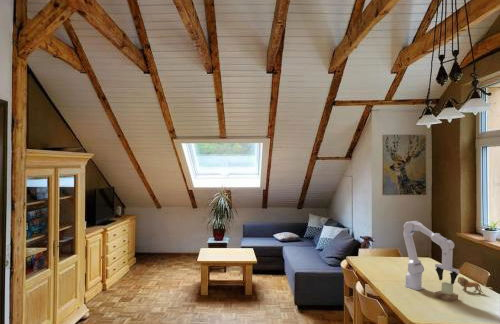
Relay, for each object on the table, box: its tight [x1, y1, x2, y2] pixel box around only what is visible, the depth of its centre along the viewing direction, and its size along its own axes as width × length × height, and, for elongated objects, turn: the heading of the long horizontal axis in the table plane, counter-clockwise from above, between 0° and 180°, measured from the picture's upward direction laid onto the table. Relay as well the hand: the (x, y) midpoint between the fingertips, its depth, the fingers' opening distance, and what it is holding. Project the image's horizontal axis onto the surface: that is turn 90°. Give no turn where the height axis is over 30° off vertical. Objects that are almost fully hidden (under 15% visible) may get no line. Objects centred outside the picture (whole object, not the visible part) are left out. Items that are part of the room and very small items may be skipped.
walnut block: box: [434, 290, 459, 303], centre depth 229 cm, size 9×9×4 cm
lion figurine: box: [457, 276, 484, 295], centre depth 241 cm, size 15×5×9 cm, turn 68°
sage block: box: [441, 281, 454, 295], centre depth 229 cm, size 4×4×6 cm
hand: (446, 281), depth 229 cm, fingers open, 7 cm apart
